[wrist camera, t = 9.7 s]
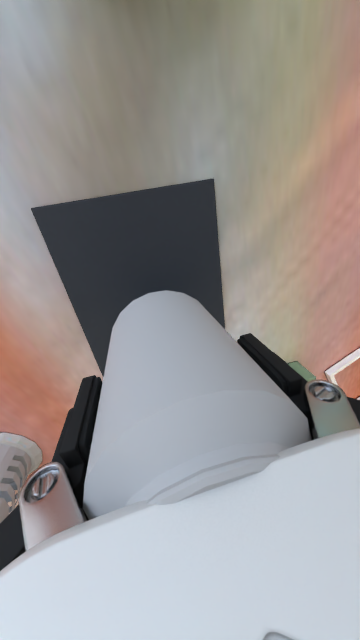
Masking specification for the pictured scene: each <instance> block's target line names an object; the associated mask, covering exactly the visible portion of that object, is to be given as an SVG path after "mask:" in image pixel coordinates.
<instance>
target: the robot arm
mask: <svg viewBox="0 0 360 640" xmlns="http://www.w3.org/2000/svg"><path fill="white" fill-rule="evenodd" d="M237 343H238V344H239V345H240V346H241V347H242V348H243V349H244V350H245V352H246V353H247V354H248V355H249V356H250V357H251V358H252V359H253V360H254V361H255V362H256V363H257V364H258V365H259V367H260V368H261V369H262V370H263V371H264V372H265V373H266V374H267V375H268V376H269V377H270V378H271V379H272V380H273V381H274V383H275V384H276V385H277V386H278V387H279V388H280V389H281V390H282V391H283V392H284V393H285V394H286V395H287V396H288V397H289V399H290V400H291V401H292V402H293V403H294V404H295V405H296V406H297V407H298V408H299V410H300V411H301V412H302V413H303V414H304V415H305V416H306V417H307V419H308V424H309V429H310V435H311V441H309V442H306V443H303V444H300V445H297V446H294V447H291V448H288V449H285V450H282V451H280V452H279V453H278V454H277V455H279V456H280V457H279V458H277V459H276V460H275V461H273V462H271V463H270V464H269V465H268V466H267V467H266V468H265V469H264V470H263V471H261V472H258V473H256V474H253V475H250V476H247V477H245V478H242V479H239V480H236V481H233V482H231V483H228V484H225V485H222V486H220V487H217V488H214V489H211V490H209V491H206V492H203V493H200V494H198V495H195V496H192V497H189V498H187V499H184V500H181V501H179V502H176V503H173V504H166V505H157V504H155V505H149V504H147V502H148V500H144V501H139V502H136V503H134V504H131V505H128V506H125V507H123V508H120V509H117V510H115V511H112V512H109V513H107V514H104V515H101V516H99V517H96V518H94V519H91V520H89V519H88V517H87V515H86V513H85V511H84V510H83V497H84V484H85V477H86V472H87V466H88V461H89V455H90V450H91V444H92V439H93V433H94V427H95V422H96V416H97V411H98V405H99V400H100V394H101V389H102V381H101V378H100V377H96V376H95V375H94V376H90V377H86V378H83V380H82V383H81V386H80V389H79V392H78V395H77V398H76V401H75V405H74V408H71V409H70V410H69V412H68V415H67V418H66V421H65V424H64V427H63V430H62V432H61V435H60V438H59V441H58V444H57V447H56V450H55V453H54V456H53V459H52V462H50V463H47V464H45V465H43V466H41V467H40V468H38V469H37V470H36V471H35V472H34V473H32V474H31V475H30V477H29V478H28V479H27V480H26V482H25V483H24V485H23V486H22V488H21V491H20V494H19V505H18V506H17V507H16V508H15V509H14V510H13V511H12V512H11V513H10V514H9V515H8V516H7V517H6V518H5V519H4V520H3V521H2V522H1V523H0V640H360V400H357V399H353V398H349V397H346V395H345V393H344V391H343V390H342V389H341V388H340V387H339V386H337V385H335V384H334V383H332V382H329V381H325V380H311V381H309V382H308V381H307V380H306V379H304V378H303V377H302V376H301V375H300V374H299V373H297V372H296V371H295V370H294V369H293V368H292V367H290V366H289V365H288V364H287V363H286V362H285V361H283V360H282V359H281V358H280V357H279V356H278V355H276V354H275V353H274V352H272V351H271V350H269V349H268V348H267V347H266V346H265V345H264V344H262V343H261V342H260V341H259V340H258V339H257V338H256V337H254V336H253V335H252V334H251V333H249V334H246V335H242V336H240V339H238V340H237Z"/></svg>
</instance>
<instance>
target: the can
mask: <svg viewBox="0 0 360 640" xmlns="http://www.w3.org/2000/svg"><path fill="white" fill-rule="evenodd" d="M309 441H311V435H310V429H309V424H308V419H307V417H306V416H305V415H304V414H303V413H302V412H301V411H300V410H299V408H298V407H297V406H296V405H295V404H294V403H293V402H292V401H291V400H290V399H289V397H288V396H287V395H286V394H285V393H284V392H283V391H282V390H281V389H280V388H279V387H278V386H277V385H276V384H275V383H274V381H273V380H272V379H271V378H270V377H269V376H268V375H267V374H266V373H265V372H264V371H263V370H262V369H261V368H260V367H259V365H258V364H257V363H256V362H255V361H254V360H253V359H252V358H251V357H250V356H249V355H248V354H247V353H246V352H245V350H244V349H243V348H242V347H241V346H240V345H239V344H238V343H237V342H236V341H235V340H234V339H233V338H232V337H231V336H230V334H229V333H228V332H227V331H226V330H225V329H224V328H223V327H222V326H221V325H220V324H219V323H218V322H217V321H216V320H215V318H214V317H213V316H212V315H211V314H210V313H209V312H208V311H207V310H206V309H205V308H204V307H203V306H202V305H201V304H200V302H199V301H198V300H196V299H194V298H192V297H190V296H188V295H186V294H185V293H181V292H174V291H168V290H165V291H158V292H152V293H148V294H146V295H144V296H142V297H139V298H137V299H135V300H133V301H132V302H131V303H130V304H129V305H128V306H127V307H126V308H125V309H124V310H123V311H122V312H121V313H120V314H119V316H118V318H117V320H116V322H115V324H114V326H113V328H112V333H111V339H110V344H109V350H108V355H107V361H106V366H105V372H104V378H103V383H102V389H101V394H100V400H99V405H98V411H97V416H96V422H95V427H94V433H93V439H92V444H91V450H90V455H89V461H88V466H87V472H86V477H85V484H84V497H83V510H84V511H85V513H86V515H87V517H88V519H89V520H91V519H94V518H96V517H99V516H101V515H104V514H107V513H109V512H112V511H115V510H117V509H120V508H123V507H125V506H128V505H131V504H134V503H136V502H139V501H144V500H148V502H147V504H149V505H155V504H157V505H166V504H173V503H176V502H179V501H181V500H184V499H187V498H189V497H192V496H195V495H198V494H200V493H203V492H206V491H209V490H211V489H214V488H217V487H220V486H222V485H225V484H228V483H231V482H233V481H236V480H239V479H242V478H245V477H247V476H250V475H253V474H256V473H258V472H261V471H263V470H264V469H265V468H266V467H267V466H268V465H269V464H270V463H271V462H273V461H275V460H276V459H277V458H279V457H280V456H279V455H277V454H278V453H279V452H280V451H282V450H285V449H288V448H291V447H294V446H297V445H300V444H303V443H306V442H309Z"/></svg>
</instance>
